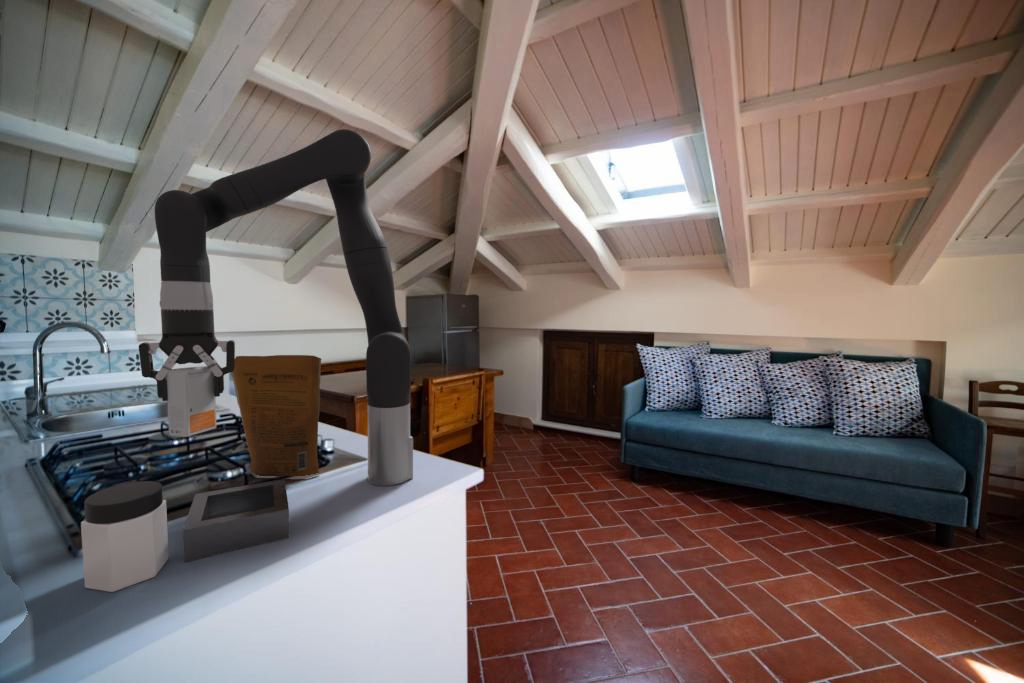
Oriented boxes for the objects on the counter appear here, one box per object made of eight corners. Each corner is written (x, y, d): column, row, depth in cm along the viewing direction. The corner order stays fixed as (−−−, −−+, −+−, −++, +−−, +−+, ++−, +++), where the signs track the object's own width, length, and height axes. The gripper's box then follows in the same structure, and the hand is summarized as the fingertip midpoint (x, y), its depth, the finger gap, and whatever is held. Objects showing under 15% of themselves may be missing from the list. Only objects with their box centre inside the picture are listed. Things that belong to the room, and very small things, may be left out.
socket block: (285, 503, 82) (284, 478, 82) (289, 537, 70) (288, 508, 70) (196, 520, 75) (195, 493, 75) (184, 562, 63) (182, 530, 63)
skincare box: (187, 437, 74) (184, 370, 73) (168, 436, 75) (164, 369, 74) (218, 428, 80) (215, 365, 79) (199, 426, 81) (196, 365, 80)
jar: (162, 548, 66) (159, 475, 65) (175, 570, 61) (171, 490, 60) (81, 575, 59) (76, 493, 59) (88, 602, 54) (82, 513, 53)
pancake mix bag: (315, 484, 91) (313, 356, 89) (230, 481, 92) (226, 354, 90) (330, 472, 98) (328, 353, 96) (251, 469, 99) (247, 351, 97)
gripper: (236, 307, 82) (239, 390, 84) (140, 307, 75) (146, 398, 76) (234, 308, 76) (237, 398, 77) (129, 307, 69) (135, 406, 70)
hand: (192, 397), depth 77 cm, fingers closed on skincare box, 7 cm apart
